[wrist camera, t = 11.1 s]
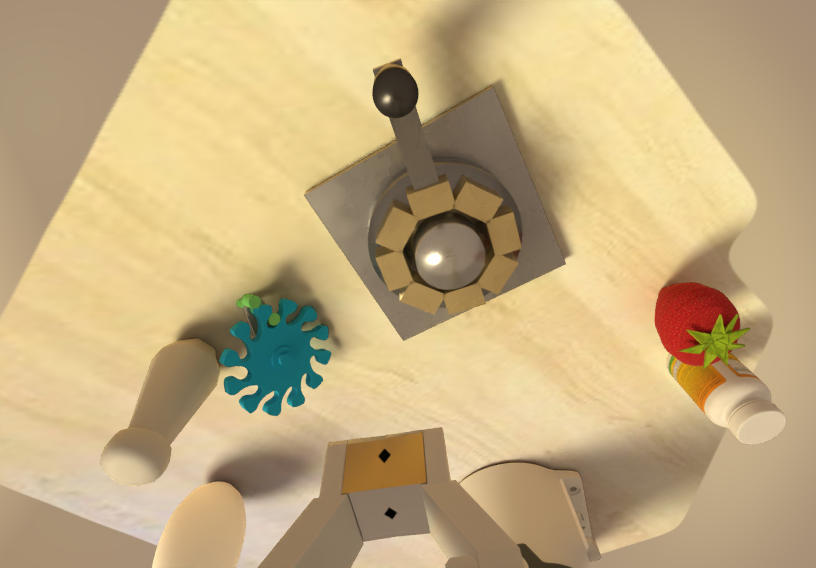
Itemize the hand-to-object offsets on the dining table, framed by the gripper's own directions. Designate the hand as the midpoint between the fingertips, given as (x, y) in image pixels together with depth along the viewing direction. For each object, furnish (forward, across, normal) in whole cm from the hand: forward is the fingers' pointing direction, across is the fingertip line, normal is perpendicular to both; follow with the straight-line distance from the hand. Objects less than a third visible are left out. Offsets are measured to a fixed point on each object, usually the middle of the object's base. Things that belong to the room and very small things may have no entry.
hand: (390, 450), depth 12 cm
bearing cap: (+27, -4, +5) cm, 27 cm away
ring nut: (+24, -3, +1) cm, 24 cm away
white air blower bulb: (+27, +25, +32) cm, 49 cm away
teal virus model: (+27, +12, +12) cm, 32 cm away
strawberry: (+27, -23, +15) cm, 39 cm away
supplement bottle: (+28, -27, +23) cm, 45 cm away
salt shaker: (+27, +21, +14) cm, 37 cm away
